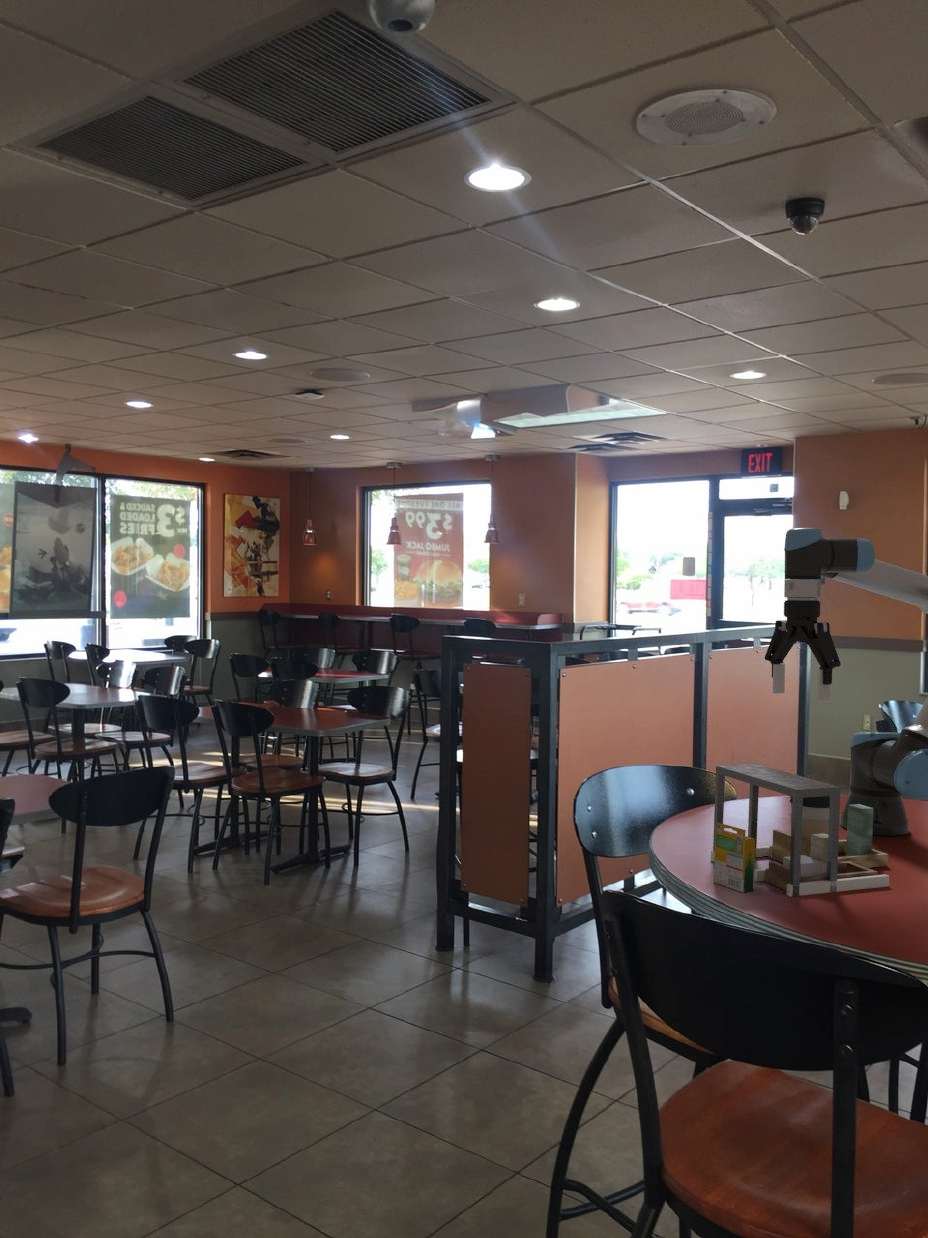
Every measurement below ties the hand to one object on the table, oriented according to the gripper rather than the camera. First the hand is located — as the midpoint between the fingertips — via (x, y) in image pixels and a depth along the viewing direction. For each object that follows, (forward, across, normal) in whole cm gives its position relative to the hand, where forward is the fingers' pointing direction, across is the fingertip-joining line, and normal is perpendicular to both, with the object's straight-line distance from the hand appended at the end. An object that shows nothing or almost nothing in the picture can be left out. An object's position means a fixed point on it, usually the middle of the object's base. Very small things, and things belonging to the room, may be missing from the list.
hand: (800, 696), depth 215 cm
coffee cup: (+33, +13, -8) cm, 36 cm away
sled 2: (+32, +24, -17) cm, 44 cm away
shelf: (+32, +16, -22) cm, 43 cm away
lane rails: (+32, +17, -16) cm, 40 cm away
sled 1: (+33, +13, -4) cm, 35 cm away
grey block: (+32, +24, -21) cm, 45 cm away
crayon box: (+32, +20, -34) cm, 51 cm away
